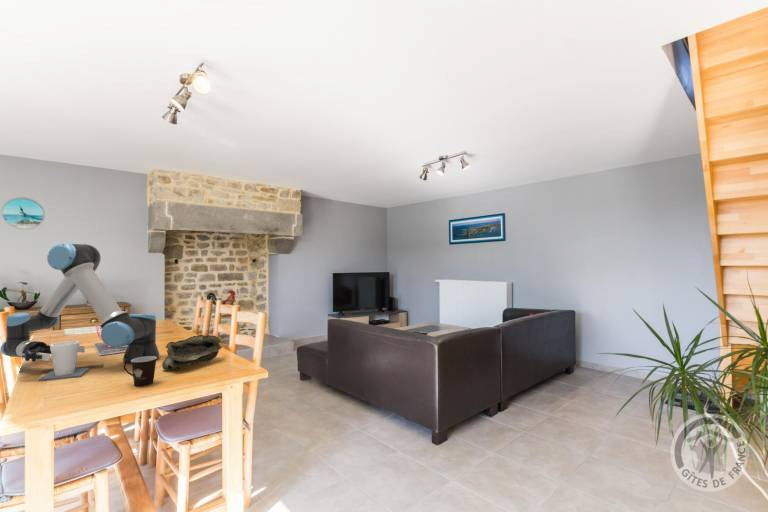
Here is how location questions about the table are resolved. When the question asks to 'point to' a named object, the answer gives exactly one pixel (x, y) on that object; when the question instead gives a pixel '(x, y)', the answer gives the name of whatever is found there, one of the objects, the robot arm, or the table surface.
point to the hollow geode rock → (191, 351)
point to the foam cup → (64, 357)
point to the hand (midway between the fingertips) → (66, 353)
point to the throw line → (75, 368)
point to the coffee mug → (142, 370)
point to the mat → (77, 373)
